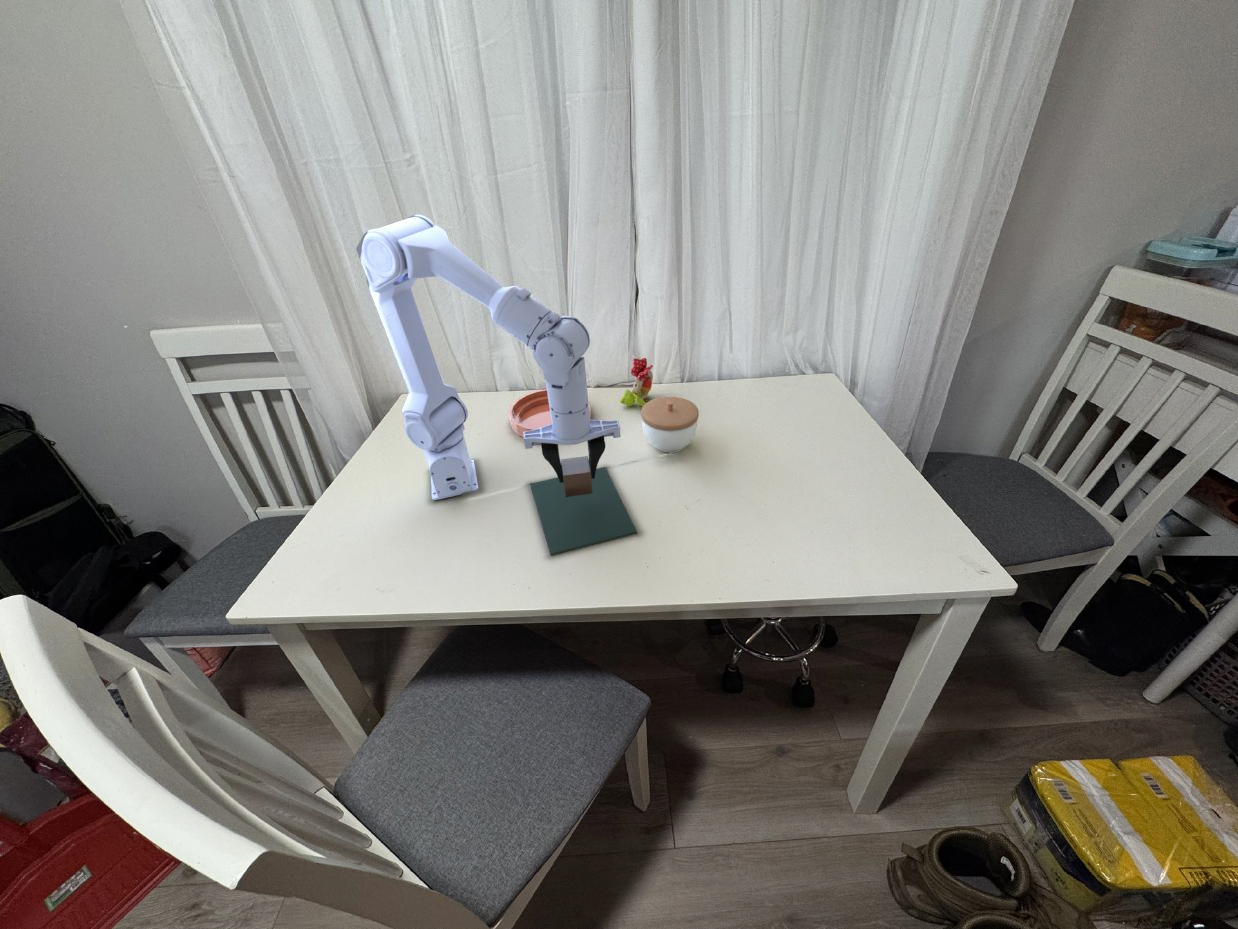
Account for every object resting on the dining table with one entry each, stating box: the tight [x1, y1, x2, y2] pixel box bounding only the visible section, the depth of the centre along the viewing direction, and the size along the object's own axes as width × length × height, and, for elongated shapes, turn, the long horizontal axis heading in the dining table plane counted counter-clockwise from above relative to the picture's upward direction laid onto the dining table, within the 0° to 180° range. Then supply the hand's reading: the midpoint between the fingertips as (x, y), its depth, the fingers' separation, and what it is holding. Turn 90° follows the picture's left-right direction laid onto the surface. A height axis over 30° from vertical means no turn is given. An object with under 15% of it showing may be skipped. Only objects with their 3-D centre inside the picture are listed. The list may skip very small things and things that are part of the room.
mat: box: [530, 466, 638, 556], centre depth 87 cm, size 18×14×1 cm
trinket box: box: [640, 396, 699, 454], centre depth 98 cm, size 11×11×9 cm
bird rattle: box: [619, 357, 654, 408], centre depth 112 cm, size 6×11×9 cm
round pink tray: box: [508, 388, 592, 439], centre depth 109 cm, size 17×17×3 cm
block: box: [560, 455, 593, 497], centre depth 83 cm, size 4×4×4 cm
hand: (577, 476), depth 83 cm, fingers closed on block, 4 cm apart
